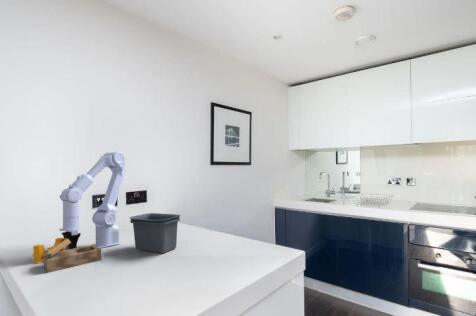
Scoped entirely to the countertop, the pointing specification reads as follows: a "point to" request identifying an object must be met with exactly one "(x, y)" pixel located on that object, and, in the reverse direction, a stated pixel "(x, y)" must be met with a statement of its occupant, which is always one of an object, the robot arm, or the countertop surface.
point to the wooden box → (71, 258)
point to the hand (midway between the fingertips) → (71, 249)
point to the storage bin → (155, 231)
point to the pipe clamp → (40, 250)
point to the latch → (58, 247)
